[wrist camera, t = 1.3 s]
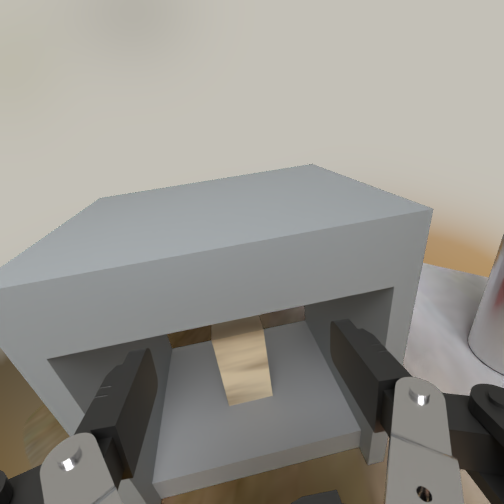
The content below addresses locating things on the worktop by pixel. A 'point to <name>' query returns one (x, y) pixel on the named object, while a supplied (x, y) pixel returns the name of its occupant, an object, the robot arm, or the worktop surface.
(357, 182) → the box
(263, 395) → the maple block
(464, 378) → the worktop surface
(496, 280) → the robot arm
